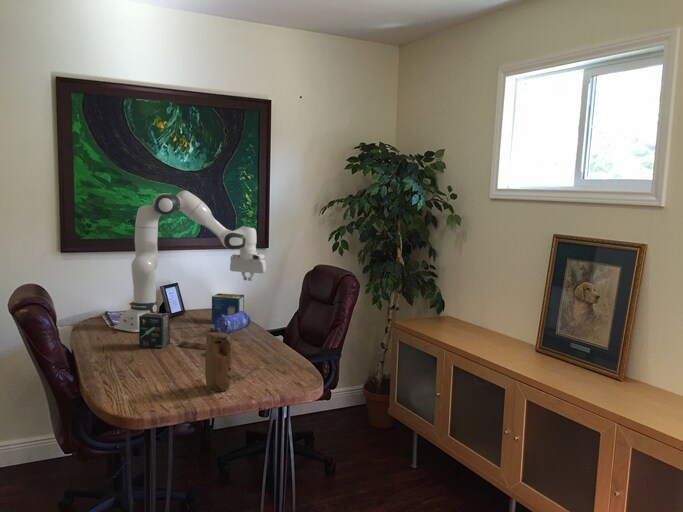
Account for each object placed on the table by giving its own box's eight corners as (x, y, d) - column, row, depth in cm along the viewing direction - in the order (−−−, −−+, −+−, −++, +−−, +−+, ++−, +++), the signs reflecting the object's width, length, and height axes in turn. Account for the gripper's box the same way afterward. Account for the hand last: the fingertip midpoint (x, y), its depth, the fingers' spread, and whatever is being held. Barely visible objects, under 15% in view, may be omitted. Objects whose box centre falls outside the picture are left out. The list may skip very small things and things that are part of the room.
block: (203, 384, 207) (204, 331, 205) (222, 381, 211) (223, 329, 209) (213, 393, 198) (214, 338, 196) (233, 390, 202) (234, 336, 200)
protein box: (217, 320, 314) (218, 293, 312) (244, 322, 311) (244, 294, 310) (210, 324, 303) (211, 296, 302) (238, 326, 301) (238, 297, 300)
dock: (180, 346, 257) (180, 341, 256) (211, 332, 285) (211, 327, 284) (213, 350, 253) (213, 345, 252) (240, 335, 281) (240, 330, 280)
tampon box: (170, 343, 261) (170, 313, 259) (162, 349, 252) (162, 317, 250) (147, 342, 262) (147, 311, 260) (138, 347, 253) (138, 315, 251)
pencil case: (225, 336, 279) (226, 317, 278) (212, 333, 283) (212, 315, 282) (251, 327, 299) (252, 310, 298) (238, 325, 303) (238, 308, 302)
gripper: (228, 254, 303) (227, 279, 305) (263, 257, 298) (262, 282, 300) (233, 253, 310) (232, 278, 311) (267, 256, 304) (266, 281, 306)
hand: (247, 280), depth 305 cm, fingers closed
